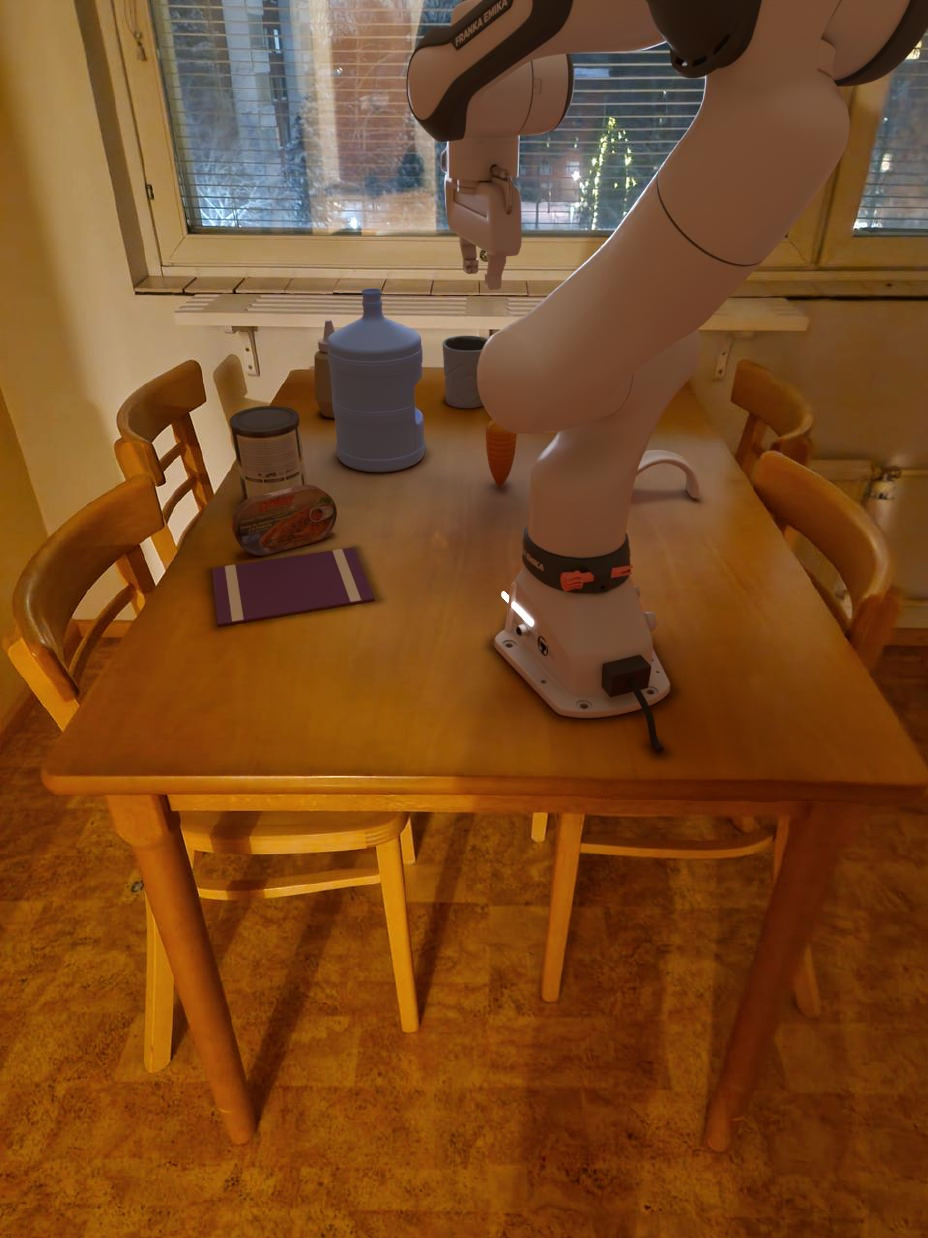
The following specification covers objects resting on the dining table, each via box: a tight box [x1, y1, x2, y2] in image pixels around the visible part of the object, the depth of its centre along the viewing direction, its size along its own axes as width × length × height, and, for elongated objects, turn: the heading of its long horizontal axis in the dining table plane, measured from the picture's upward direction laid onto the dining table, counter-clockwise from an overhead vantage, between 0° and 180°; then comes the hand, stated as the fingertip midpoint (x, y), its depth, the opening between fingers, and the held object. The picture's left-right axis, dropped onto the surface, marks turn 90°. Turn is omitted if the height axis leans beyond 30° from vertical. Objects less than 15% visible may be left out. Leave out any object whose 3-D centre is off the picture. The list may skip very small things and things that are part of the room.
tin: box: [231, 484, 338, 556], centre depth 116 cm, size 15×3×8 cm, turn 119°
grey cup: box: [441, 335, 489, 409], centre depth 164 cm, size 10×10×12 cm
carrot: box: [485, 419, 518, 488], centre depth 130 cm, size 5×5×15 cm
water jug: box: [328, 288, 426, 473], centre depth 136 cm, size 16×16×28 cm
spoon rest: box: [636, 449, 700, 499], centre depth 129 cm, size 24×12×7 cm, turn 93°
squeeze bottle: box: [313, 319, 336, 419], centre depth 156 cm, size 8×8×18 cm
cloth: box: [211, 546, 376, 628], centre depth 109 cm, size 14×20×1 cm
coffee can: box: [228, 405, 308, 501], centre depth 125 cm, size 10×10×14 cm
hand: (481, 280), depth 108 cm, fingers open, 8 cm apart
